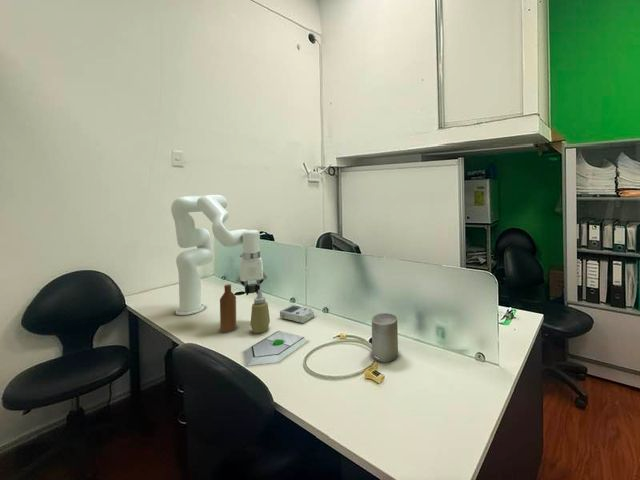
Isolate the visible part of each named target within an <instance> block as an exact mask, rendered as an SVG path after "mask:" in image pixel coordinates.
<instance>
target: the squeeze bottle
mask: <svg viewBox="0 0 640 480" xmlns="http://www.w3.org/2000/svg"><path fill="white" fill-rule="evenodd" d="M270 323H271V319H270V310H269V302H268V301H267V300H266V297H265V296H264V295H263V291H262V289H260V290H258V294H256V297H255V298H254V299H253V304H252V305H251V313H250V324H249V325H250V328H251V330H252V332H253V333H254V334H261V333H266V331H268V329H269V326H270Z"/></svg>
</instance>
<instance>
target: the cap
mask: <svg viewBox="0 0 640 480" xmlns="http://www.w3.org/2000/svg"><path fill="white" fill-rule="evenodd" d="M256 286H257V282H255V283H254V282H253V283H250V284H249V283H248V293H249V294H256Z"/></svg>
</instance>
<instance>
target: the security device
mask: <svg viewBox="0 0 640 480" xmlns="http://www.w3.org/2000/svg"><path fill="white" fill-rule="evenodd" d="M306 343H307V340H306V337H305V336H302V335H298V334H293V333H290V332H286V331H281V330H277V331H275V332H274V333H272V334H270V335H269V336H267V337H265V338H264V339H262V340H260V341H258V342H256V343H255V344H253V345H252V346H250V347H249V348H248V349H246V350H245V351H244V354H245V361H246V366H254V365H265V364H272V363H273V364H274V363H279V362H280V361H282V360H283V359H285V358H286V357H288V356H289V355H290V354H292V353H293V352H294V351H296V350H297V349H300V347H301V346H303V345H304V344H306Z"/></svg>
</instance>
